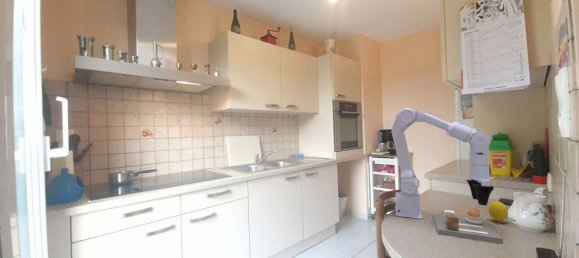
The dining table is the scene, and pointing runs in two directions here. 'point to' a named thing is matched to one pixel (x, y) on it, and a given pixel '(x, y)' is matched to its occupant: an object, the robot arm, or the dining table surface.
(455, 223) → the slider walnut
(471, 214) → the button orange
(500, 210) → the lemon
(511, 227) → the dining table surface
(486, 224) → the panel
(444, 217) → the slider cream
